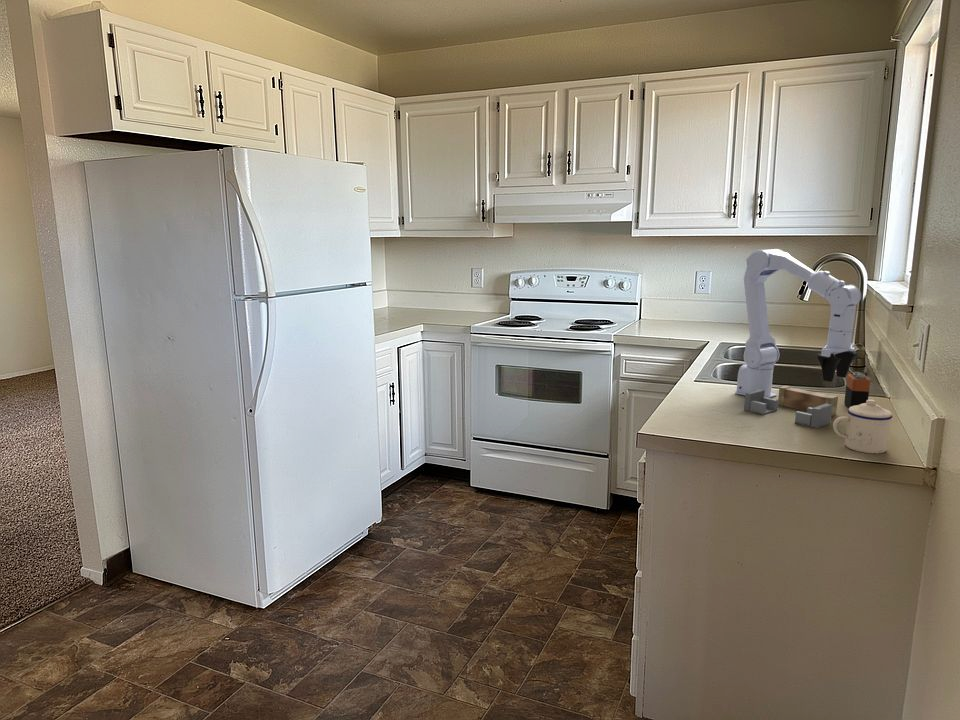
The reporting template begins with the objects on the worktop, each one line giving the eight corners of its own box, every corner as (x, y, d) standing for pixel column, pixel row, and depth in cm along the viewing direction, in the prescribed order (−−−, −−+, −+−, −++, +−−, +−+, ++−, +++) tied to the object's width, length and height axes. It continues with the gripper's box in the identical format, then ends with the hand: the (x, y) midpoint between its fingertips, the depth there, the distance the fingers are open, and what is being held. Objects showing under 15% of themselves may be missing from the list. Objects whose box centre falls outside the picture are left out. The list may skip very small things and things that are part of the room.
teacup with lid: (879, 442, 159) (885, 396, 157) (894, 455, 151) (900, 406, 148) (825, 439, 162) (830, 393, 159) (837, 452, 153) (842, 403, 151)
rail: (777, 404, 192) (779, 387, 191) (783, 402, 194) (785, 385, 193) (830, 416, 180) (832, 398, 179) (836, 414, 182) (838, 396, 181)
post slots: (743, 410, 186) (745, 392, 185) (757, 405, 191) (759, 388, 190) (816, 428, 170) (818, 409, 169) (830, 422, 174) (832, 404, 173)
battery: (850, 410, 186) (854, 375, 184) (843, 403, 192) (847, 370, 190) (867, 411, 185) (871, 376, 183) (860, 404, 191) (864, 371, 189)
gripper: (843, 335, 171) (836, 386, 174) (868, 329, 179) (861, 377, 182) (815, 331, 176) (810, 380, 179) (841, 325, 185) (835, 372, 188)
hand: (834, 378), depth 181 cm, fingers open, 7 cm apart
